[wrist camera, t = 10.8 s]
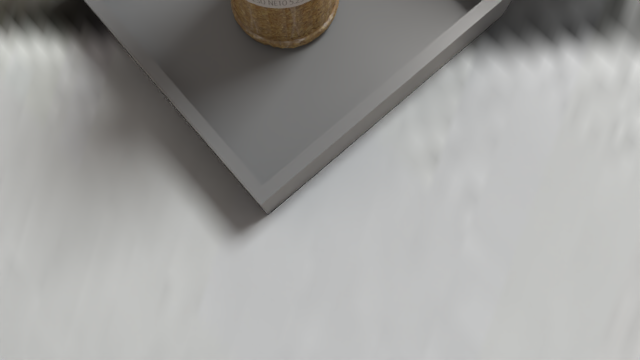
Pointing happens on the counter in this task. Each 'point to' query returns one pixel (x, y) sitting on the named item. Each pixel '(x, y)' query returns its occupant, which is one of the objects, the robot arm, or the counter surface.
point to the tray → (290, 76)
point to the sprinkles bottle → (284, 20)
